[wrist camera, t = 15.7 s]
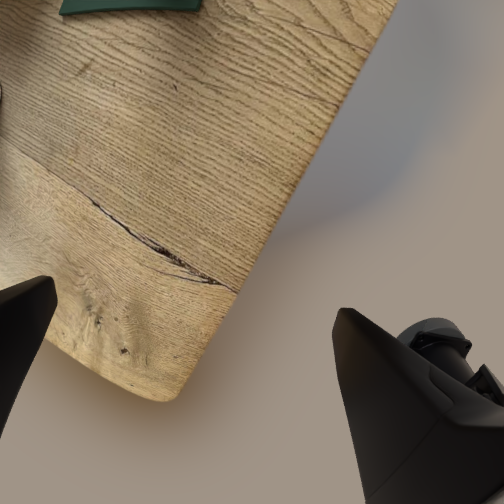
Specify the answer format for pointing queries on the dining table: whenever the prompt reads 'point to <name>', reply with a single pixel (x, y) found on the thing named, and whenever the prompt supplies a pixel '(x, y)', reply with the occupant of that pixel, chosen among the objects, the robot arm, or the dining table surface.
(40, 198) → the dining table surface
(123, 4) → the play mat
